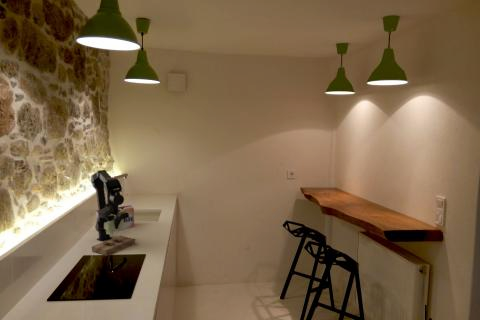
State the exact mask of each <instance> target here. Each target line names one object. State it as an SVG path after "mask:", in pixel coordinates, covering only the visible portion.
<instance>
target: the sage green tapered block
mask: <svg viewBox="0 0 480 320" xmlns="http://www.w3.org/2000/svg"><path fill="white" fill-rule="evenodd" d="M122 225H123V219H122V220H121V222H120V224H119V227H118V229H115V232H123V229H122ZM113 228H115V223H114V220H111V221H108V222H105V223H104V229H106V234H109V235H110V236H111V235H114V231H113Z"/></svg>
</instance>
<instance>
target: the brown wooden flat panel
mask: <svg viewBox="0 0 480 320" xmlns="http://www.w3.org/2000/svg"><path fill="white" fill-rule="evenodd" d="M134 245H136V239H135V238H132V237H128V236H123V235H120V236H117V237H114V238H113V237H112V238H111V239H109V240H106V241H102V242H100V243H97V244H95V245H92V246H91V253H95V254H98V255H102V256H106V257H107V256H110V255H112V254H115V253H117V252H119V251H121V250H124V249H126V248H129V247H132V246H134Z"/></svg>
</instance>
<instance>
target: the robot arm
mask: <svg viewBox="0 0 480 320" xmlns="http://www.w3.org/2000/svg"><path fill="white" fill-rule="evenodd" d="M90 183H91V185H92V187H93V188H94V190H95V192H96V193H95V194H96V200H97V207H98V208H97V210H99V211H98V217H97V218H96V222H95V225H94V228H95V231H97V232H98V238H96V240H97V241H100V242H105V241H108V240H111V239H113V237H112V236H111V235H109V234H106V229H104V223H105V222H108V221H111V220H114V223H115V229H118V227H119V224H120V222H121V220H122V219H125V218H128V217H129V213H127V212H120V210H119V207H120V206H121V205H122V204H123V203H124V202H125V198H124V195H122V194H121V192H123V187H122V185H121V184H122V183H121V182H120V180H119V179H118V178H116V177H112V176H111V175H110V174H109V173H108V172H107V170H106V169H100V170H97V171H96V172H95V173H93V174H92V175H91V177H90ZM105 192H106V194H105ZM118 212H120V213H118ZM114 217H115V218H114Z"/></svg>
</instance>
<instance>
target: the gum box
mask: <svg viewBox="0 0 480 320" xmlns="http://www.w3.org/2000/svg"><path fill="white" fill-rule="evenodd" d="M118 207H119V210H120V212H127V213H129V217H128V218H125V219H123V225H122V230H126V229H131V228H135V207H134V206H133V205H124V206H118ZM98 211H99V209H97V210H95V212H96V213H95V215H96V219H97V217H98ZM120 212H118V213H120ZM114 218H115V217H114ZM114 231H115V228H113V232H114ZM115 232H116V231H115Z"/></svg>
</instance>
